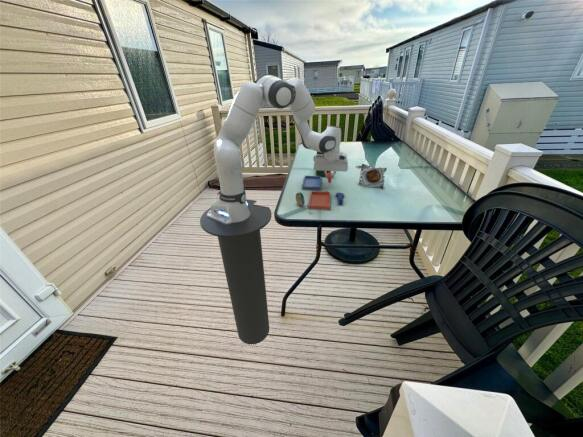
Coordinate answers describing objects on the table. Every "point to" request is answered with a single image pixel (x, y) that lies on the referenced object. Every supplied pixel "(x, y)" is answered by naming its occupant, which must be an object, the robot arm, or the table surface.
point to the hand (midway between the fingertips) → (329, 177)
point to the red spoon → (329, 177)
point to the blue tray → (312, 182)
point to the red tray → (319, 200)
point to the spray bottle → (318, 172)
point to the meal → (372, 176)
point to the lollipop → (300, 199)
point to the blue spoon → (340, 197)
